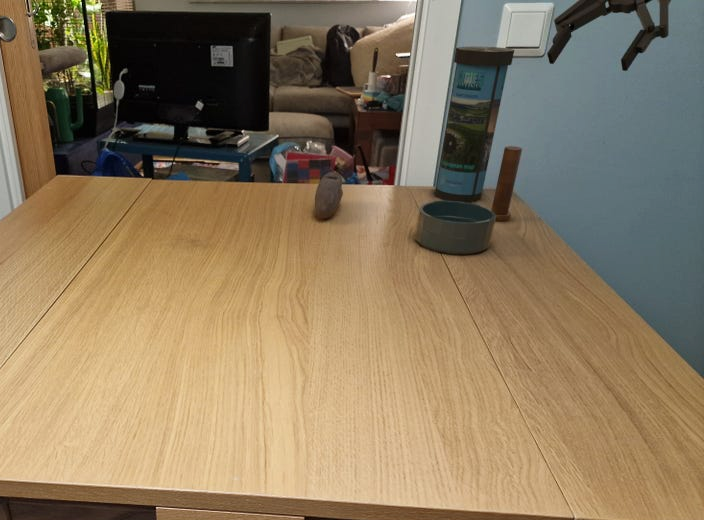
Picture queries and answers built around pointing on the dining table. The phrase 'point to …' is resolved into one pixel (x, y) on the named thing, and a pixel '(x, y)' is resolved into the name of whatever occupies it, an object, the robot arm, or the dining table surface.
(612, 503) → the dining table surface
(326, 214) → the perforated stone tool
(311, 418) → the dining table surface
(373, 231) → the dining table surface
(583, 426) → the dining table surface
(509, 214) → the muddler
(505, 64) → the advertising column
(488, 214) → the bowl
